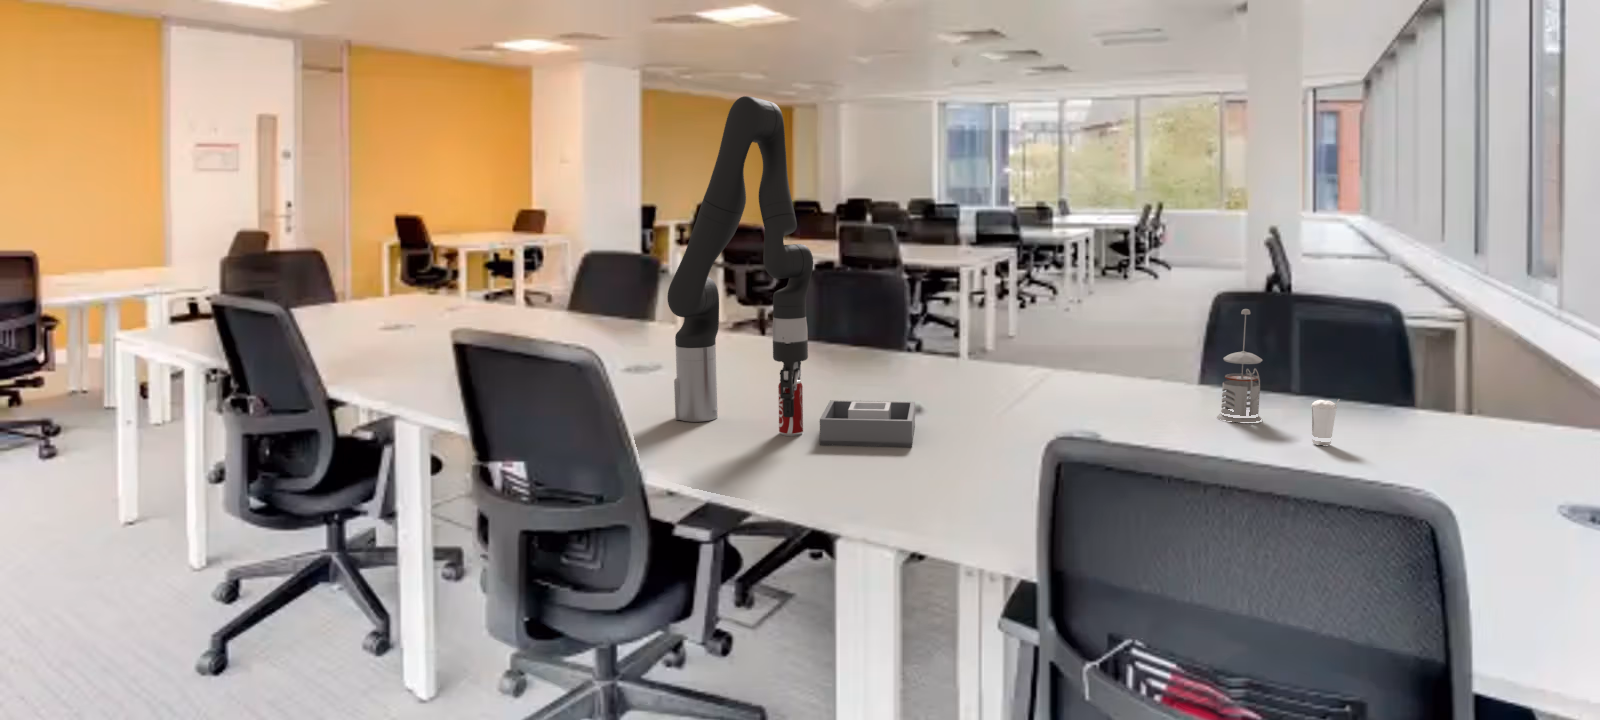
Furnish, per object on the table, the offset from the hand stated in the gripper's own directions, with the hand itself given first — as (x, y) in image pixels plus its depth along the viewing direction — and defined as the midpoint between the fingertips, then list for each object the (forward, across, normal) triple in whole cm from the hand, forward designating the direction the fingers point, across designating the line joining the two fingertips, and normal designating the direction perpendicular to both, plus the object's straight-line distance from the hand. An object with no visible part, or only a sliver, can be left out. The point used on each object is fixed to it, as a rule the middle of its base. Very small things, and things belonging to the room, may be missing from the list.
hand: (791, 412), depth 223 cm
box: (+5, 0, +17) cm, 17 cm away
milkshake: (+5, 0, +109) cm, 109 cm away
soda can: (+5, 0, 0) cm, 5 cm away
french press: (+5, -22, +99) cm, 101 cm away
